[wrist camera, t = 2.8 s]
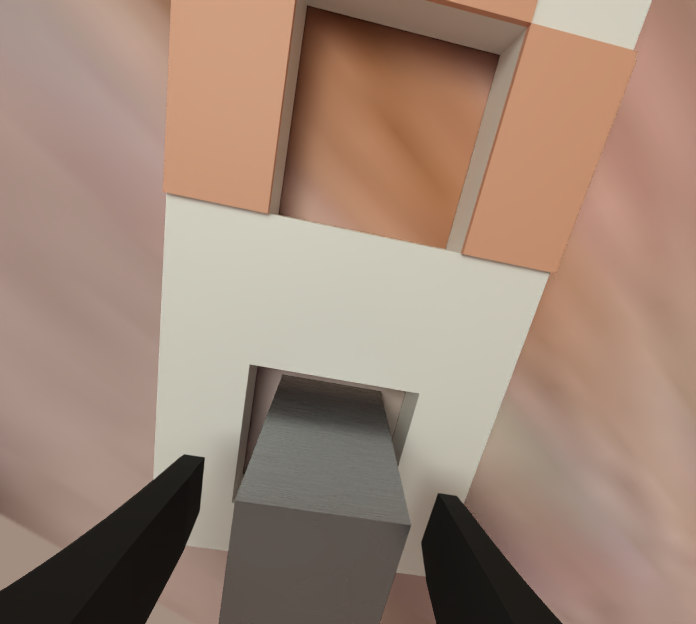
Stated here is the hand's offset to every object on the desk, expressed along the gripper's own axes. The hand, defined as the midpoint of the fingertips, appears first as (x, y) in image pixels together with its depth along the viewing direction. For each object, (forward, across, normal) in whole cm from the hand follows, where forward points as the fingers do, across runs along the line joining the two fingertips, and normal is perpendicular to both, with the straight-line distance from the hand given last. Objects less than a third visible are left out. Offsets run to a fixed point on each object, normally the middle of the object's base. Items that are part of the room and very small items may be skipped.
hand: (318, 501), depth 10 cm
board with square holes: (+4, 0, -6) cm, 7 cm away
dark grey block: (+4, 0, 0) cm, 4 cm away
